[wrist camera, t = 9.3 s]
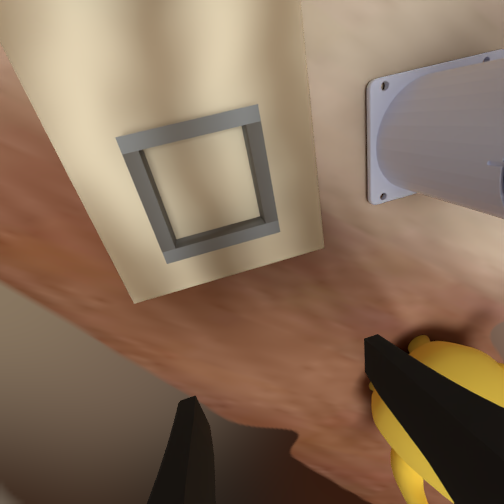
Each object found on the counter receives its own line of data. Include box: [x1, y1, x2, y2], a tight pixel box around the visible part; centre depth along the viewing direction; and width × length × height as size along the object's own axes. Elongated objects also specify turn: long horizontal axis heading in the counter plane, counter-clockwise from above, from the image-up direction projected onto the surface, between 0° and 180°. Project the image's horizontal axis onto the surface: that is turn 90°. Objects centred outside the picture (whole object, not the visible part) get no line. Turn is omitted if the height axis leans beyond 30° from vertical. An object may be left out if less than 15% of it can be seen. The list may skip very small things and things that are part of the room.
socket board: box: [0, 0, 324, 304], centre depth 13 cm, size 14×26×2 cm, turn 12°
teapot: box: [369, 335, 504, 504], centre depth 25 cm, size 13×20×12 cm
